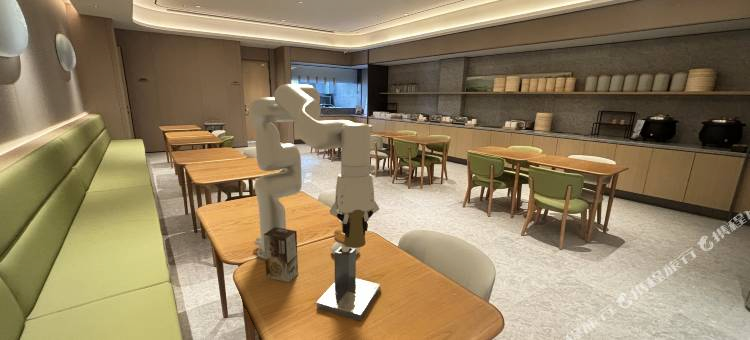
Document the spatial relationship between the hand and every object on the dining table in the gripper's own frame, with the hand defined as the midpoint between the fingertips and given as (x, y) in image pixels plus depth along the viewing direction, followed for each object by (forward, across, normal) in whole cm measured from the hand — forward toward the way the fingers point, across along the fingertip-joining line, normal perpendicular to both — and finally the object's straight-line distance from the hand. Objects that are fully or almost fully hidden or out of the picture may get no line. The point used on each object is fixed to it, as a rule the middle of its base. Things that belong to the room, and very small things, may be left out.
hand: (354, 233), depth 88 cm
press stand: (+24, 0, -5) cm, 25 cm away
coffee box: (+24, +19, -24) cm, 39 cm away
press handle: (+17, 0, -10) cm, 20 cm away
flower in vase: (+24, -6, -34) cm, 42 cm away
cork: (+3, 0, 0) cm, 3 cm away
